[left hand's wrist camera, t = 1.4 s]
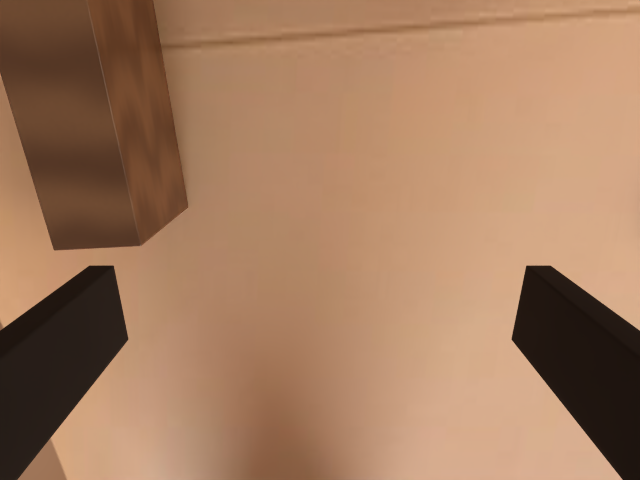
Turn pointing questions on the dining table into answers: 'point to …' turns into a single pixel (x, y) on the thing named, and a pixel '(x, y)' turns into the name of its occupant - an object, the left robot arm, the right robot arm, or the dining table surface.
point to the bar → (93, 118)
